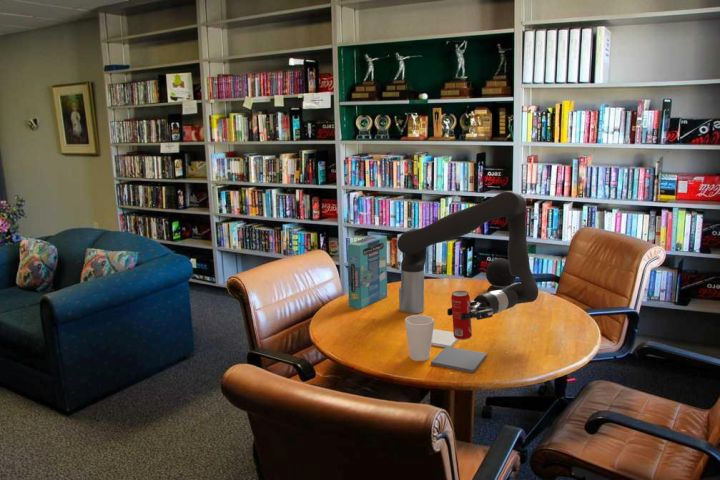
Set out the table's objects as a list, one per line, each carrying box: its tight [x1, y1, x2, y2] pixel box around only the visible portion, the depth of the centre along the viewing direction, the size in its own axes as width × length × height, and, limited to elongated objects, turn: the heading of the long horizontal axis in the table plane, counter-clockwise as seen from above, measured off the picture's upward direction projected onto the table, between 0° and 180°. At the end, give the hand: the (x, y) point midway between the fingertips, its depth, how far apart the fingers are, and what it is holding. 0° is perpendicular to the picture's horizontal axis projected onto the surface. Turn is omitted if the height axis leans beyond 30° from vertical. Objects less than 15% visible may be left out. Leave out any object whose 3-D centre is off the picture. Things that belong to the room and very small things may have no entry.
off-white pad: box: [431, 328, 459, 348], centre depth 208 cm, size 12×12×1 cm
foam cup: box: [404, 314, 435, 362], centre depth 192 cm, size 10×9×13 cm
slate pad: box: [430, 346, 488, 374], centre depth 190 cm, size 14×14×1 cm
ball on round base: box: [485, 257, 517, 292], centre depth 259 cm, size 13×13×15 cm
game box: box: [347, 234, 388, 310], centre depth 247 cm, size 20×6×27 cm, turn 144°
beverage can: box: [450, 290, 473, 341], centre depth 186 cm, size 6×6×15 cm
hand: (455, 314), depth 185 cm, fingers closed on beverage can, 5 cm apart
